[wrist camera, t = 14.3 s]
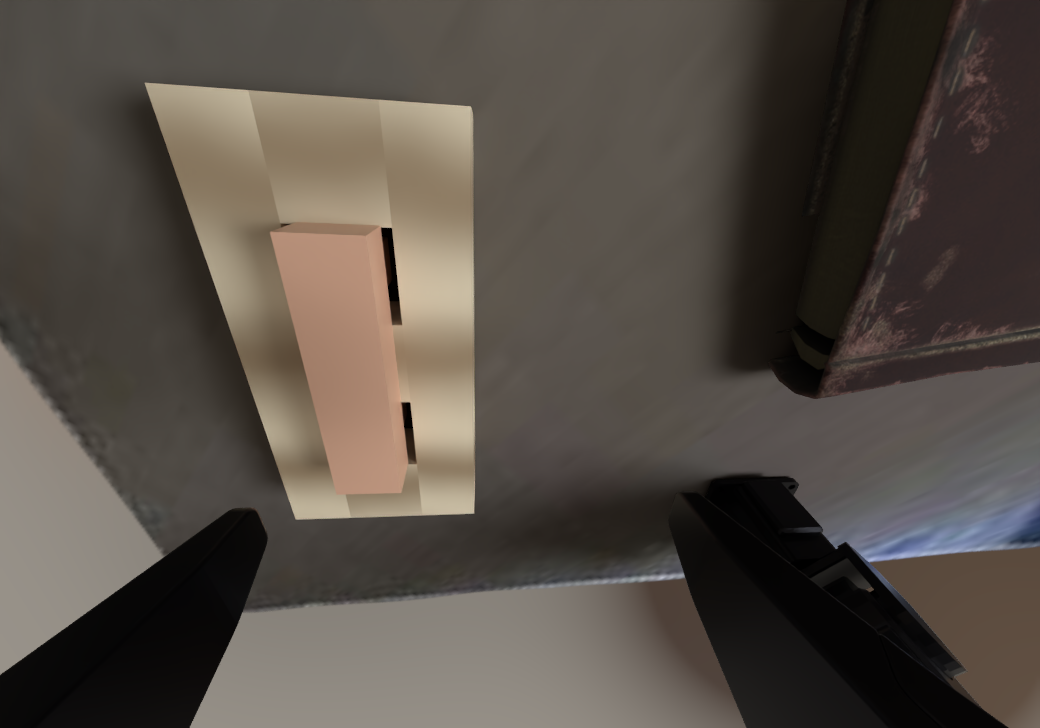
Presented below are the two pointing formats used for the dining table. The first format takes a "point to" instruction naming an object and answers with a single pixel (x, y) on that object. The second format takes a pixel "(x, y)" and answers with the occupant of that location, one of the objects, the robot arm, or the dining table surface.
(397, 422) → the pink rectangular block
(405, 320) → the cream two-hole slab
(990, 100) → the diary
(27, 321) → the dining table surface
